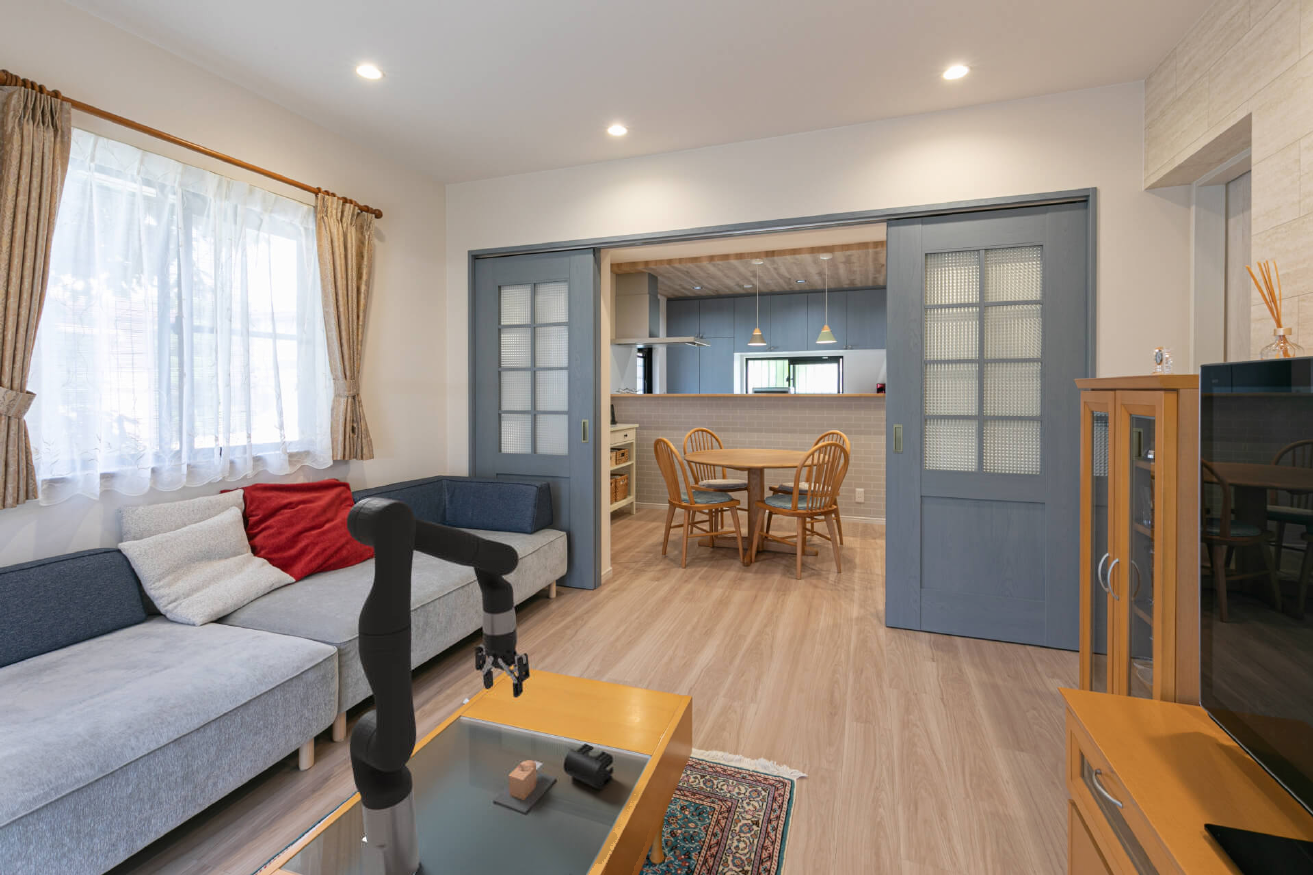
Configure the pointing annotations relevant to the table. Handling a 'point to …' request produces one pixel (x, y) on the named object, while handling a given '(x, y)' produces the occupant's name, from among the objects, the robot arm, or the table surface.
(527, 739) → the table surface
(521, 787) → the plug
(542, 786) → the mat
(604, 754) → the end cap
